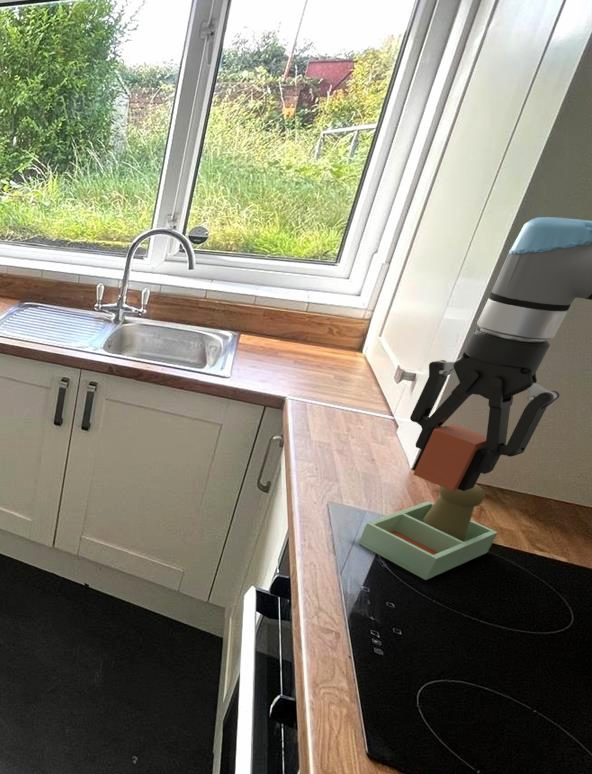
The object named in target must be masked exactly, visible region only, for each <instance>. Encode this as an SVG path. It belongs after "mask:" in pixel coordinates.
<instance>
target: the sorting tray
mask: <svg viewBox="0 0 592 774" xmlns="http://www.w3.org/2000/svg"><path fill="white" fill-rule="evenodd" d="M434 503H435V502H432V501H430V500H427V501H424V502H421V503H419V504H416V505H412V506H411V507H408V508H404V509H402V510H400V511H397V512H393V513H390V514H388V515H385V516H383V517H380V518H377V519H374V520H372V521H371V520H370V521H369V522H366V524H365V526H364V529H363V530H362V532H361V536H360V538H359V540H358V542H357V544H358V545H361V546H362V547H363V548H366V549H367V550H369V551H371V552H373V553H375V554H377V555H378V556H381V557H382V558H384V559H386V560H388V561H390V562H391V563H393V564H395V565H397V566H399V567H401V568H402V569H404V570H406V571H408V572H410V573H412V574H413V575H415V576H416V577H419V578H421V579H422V580H425V581H428V580H430V579H432V578H434V577H436V576H438V575H441V574H443V573H445V572H447V571H450V570H452V569H455V568H456V567H458V566H461V565H463V564H465V563H467V562H469V561H472V560H473V559H476V558H478V557H481V556H483V555H485V554H488V552H489V550H490V548H491V546H492V545H493V543H494V541H495V539H496V537H497V536H498V534H499V532H498V531H496V530H494V529H491V528H490V527H487V526H485V525H483V524H480V523H478V522H476V521H474V520H472V519H471V520H470V523H469V527H468V530H467V534H466V537H465V541H464V542H463V541H461V540H459V539H457V538H455V537H453V536H451V535H448V534H446V533H444V532H442V531H440V530H438V529H436V528H434V527H432V526H430V525H428V524H425V523H423V522H421V521H422V520H423V518H424V517H425V516H426V514H427V513H428V512H429V510H430V509H431V508H432V506H433V505H434Z"/></svg>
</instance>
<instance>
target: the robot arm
mask: <svg viewBox="0 0 592 774" xmlns="http://www.w3.org/2000/svg"><path fill="white" fill-rule="evenodd" d="M576 298H578V299H585V300H588V301H589V300H591V301H592V220H588V219H587V220H586V219H577V218H567V217H552V216H541V217H540V216H539V217H534V218H531V219H530V220H528V221H527V222H525V223H524V224H523V226H522V227H521V229H520V231H519V232H518V236H517V237H516V239H515V240H514V242H513V244H512V246H511V248H510V249H509V250H508V253H507V255H506V258H505V261H504V262H503V265H502V267H501V269H500V272H499V274H498V276H497V279H496V281H495V283H494V286H493V288H492V290H491V293H490V294H489V296H488V299H487V301H486V302H485V305H484V307H483V309H482V311H481V313H480V316H479V318H478V320H477V322H476V325H477V327H478V328H476V329H475V330H473V331H472V333H471V335H470V337H469V339H468V342H467V344H466V346H465V348H464V350H463V353H462V355H461V356H460V357H459V358H458V359H456V360H455V361H446V360H445V359H439V360H435V361H431V362H430V363H428V378H427V380H426V382H425V384H424V387H423V388H422V390H421V392H420V395H419V397H418V400H417V401H416V403H415V406H414V408H413V410H412V412H411V415H410V416H409V419H410V421H411V422H412V423H416V424H418V425H419V426H420V427H421V431H420V433H419V435H418V437H417V440H416V442H415V448H417V449H420V451H419V453H418V456H417V458H416V460H415V462H414V464H413V467H412V471H415V469H416V467H417V465H418V463H419V461H420V458H421V456H422V454H423V452H424V450H425V448H426V446H427V443H428V441H429V439H430V437H431V435H432V433H433V430H434V429H436V428H440V427H443V424H445V423H446V422H447V421H448V419H450V417H452V415H453V414H454V413H455V412H456V411H457V410H458V409H459V408H460V407H461V406H462V405H463V404H464V402H466V400H468V398H469V397H470V396H472V395H477V396H481V397H482V398H485V399H486V400H488V403H487V404H488V408H489V410H488V411H489V412H488V421H487V429H486V436H487V437H486V446H485V448H483V449H480V450H477V451H476V453H475V455H474V457H473V459H472V461H471V463H470V465H469V467H468V469H467V471H466V473H465V475H464V477H463V479H462V481H461V483H460V485H459V487H458V489H460V490H462V491H466V490H469V489H471V488H473V487H474V486H475V484H476V483H477V482H478V480H479V478H480V476H481V474H483V475H486V474H489V473H491V472H492V471H494V469H495V467H496V465H497V463H498V461H499V459H500V457H501V456H507V457H515V456H518V455H520V454H521V455H522V454H523V453H524V452H525V451H526V449H527V447H528V445H529V443H530V441H531V439H532V437H533V435H534V434H535V431H536V429H537V427H538V425H539V424H540V422H541V419H542V417H543V416H544V413H545V412H546V410H547V408H548V407H549V406H550V405H552V404H553V403H554V402H555V401H556V400H558V399H559V398H560V392H559V391H557V390H549V389H547V388H545V387H543V386H542V385H541V384H539V383H537V382H538V379H537V372H538V370H539V368H540V365H541V364H542V362H543V360H544V358H545V356H546V354H547V353H548V350H549V348H550V347H551V344H549V341H548V340H551V339H554V338H555V337H556V334H557V332H558V330H559V329H560V327H561V325H562V323H563V321H564V319H565V317H566V316H567V313H568V311H569V310H570V307H571V305H572V303H573V302H574V300H575V299H576ZM453 371H454V372H455V375H456V377H457V379H458V382H459V383H458V384H457V385H456V386H455V387H454V388H453V389H452V391H451V392H450V395H449V396H447V397H446V399H445V400H444V401H443V402H442V403H441V404H440V405H439V406H438V407H437V409H435V411H434V412H433V413H432V411H433V409H434V408H435V405H436V402H437V401H438V398H439V396H440V394H441V392H442V390H443V388H444V386H445V384H446V382H447V379H448V376H450V375H451V374H452V373H453ZM524 391H528V393H529V394H528V395H527V400H528V401H529V402H528V404H527V405H525V407H524V409H523V411H522V413H521V415H520V417H519V419H518V421H517V423H516V425H515V427H514V429H513V431H512V433H511V434H510V437H509V439H508V441H507V438H508V429H509V420H510V411H511V406H512V405H513V402H514V396H515V395H517V394H520V393H522V392H524ZM431 413H432V414H431ZM476 485H477V484H476Z"/></svg>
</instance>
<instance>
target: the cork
mask: <svg viewBox="0 0 592 774" xmlns="http://www.w3.org/2000/svg"><path fill="white" fill-rule="evenodd" d="M438 492H439V494H440V495H439V497H438V498H437V499H436V500H435V502H433V503H434V505H433V506H432V508H431V509H430V510H429V512H428V513H427V514H426V516H425V517H424V518H423V520H422V521H421V522H423V523H425V524H428V525H430V526H432V527H434V528H436V529H438V530H440V531H442V532H444V533H446V534H448V535H451V536H453V537H455V538H457V539H459V540H461V541H463V542H464V541H465V537H466V534H467V530H468V527H469V523H470V520H472V516H473V513H474V508H475V507H477V506H480V505H481V504H482V503H483V501H484V499H485V497H486V493H485V491H484V489H483V488H482V487H481V486H479V485H478V484H475V486H474V487H473V488H471V489H469V490H466V491H462V490H460V489H458V490H455V491H451V490H448V489H446V488H444V487H441V486H438Z"/></svg>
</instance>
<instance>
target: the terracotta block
mask: <svg viewBox="0 0 592 774" xmlns="http://www.w3.org/2000/svg"><path fill="white" fill-rule="evenodd" d="M486 437H487V435H485V434H482V433H479V432H476V431H473V430H470V429H467V428H464V427H462V426H459V425H456V424H453V423H451V424H448V425H444V426H442V427H440V428H436V429H434V430H433V433H432V435H431V437H430V439H429V441H428V443H427V446H426V448H425V450H424V452H423V454H422V456H421V458H420V461H419V463H418V465H417V467H416V469H415V470H413V471H414V472H413V476H416V477H418V478H420V479H423V480H425V481H427V482H430V483H432V484H434V485H437V486H438V487H440V486H441V487H444V488H446V489H448V490H451V491H455V490H458V487H459V485H460V483H461V481H462V479H463V477H464V475H465V473H466V471H467V469H468V467H469V465H470V463H471V461H472V459H473V457H474V455H475V453H476V451H477V450H480V449H483V448H485V446H486Z"/></svg>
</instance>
